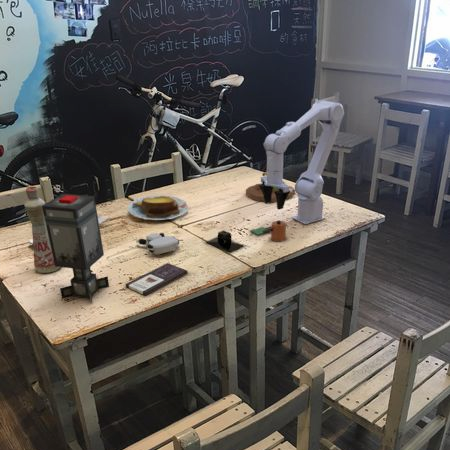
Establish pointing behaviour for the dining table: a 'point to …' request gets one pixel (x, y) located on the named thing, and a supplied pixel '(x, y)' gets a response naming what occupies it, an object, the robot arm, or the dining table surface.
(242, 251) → the dining table surface
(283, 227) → the pot
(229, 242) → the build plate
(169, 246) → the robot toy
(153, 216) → the food on plate
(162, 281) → the chocolate bar
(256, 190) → the plant
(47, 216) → the explosive device
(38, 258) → the bottle
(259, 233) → the spatula
